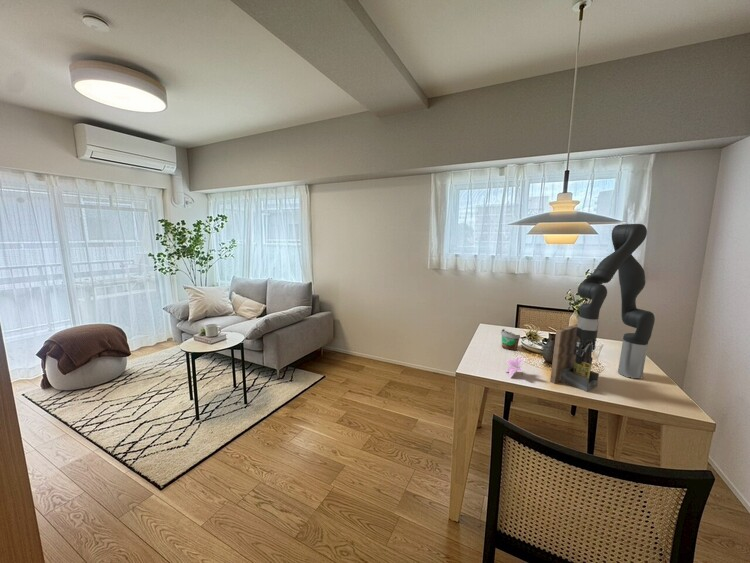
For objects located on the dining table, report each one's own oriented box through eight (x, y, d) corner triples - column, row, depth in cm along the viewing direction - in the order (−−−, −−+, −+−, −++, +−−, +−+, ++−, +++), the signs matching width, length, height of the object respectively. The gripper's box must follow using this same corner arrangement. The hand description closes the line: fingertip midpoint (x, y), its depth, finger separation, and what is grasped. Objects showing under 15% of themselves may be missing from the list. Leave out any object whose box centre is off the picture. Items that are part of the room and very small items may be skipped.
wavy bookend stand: (572, 372, 150) (578, 324, 145) (602, 383, 139) (609, 331, 135) (550, 381, 139) (556, 330, 135) (580, 394, 128) (588, 339, 124)
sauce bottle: (569, 383, 138) (575, 342, 134) (573, 379, 142) (578, 339, 139) (586, 389, 133) (593, 346, 130) (589, 384, 138) (596, 343, 134)
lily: (507, 368, 154) (500, 354, 152) (531, 365, 148) (525, 350, 146) (507, 385, 145) (500, 370, 142) (533, 382, 139) (526, 366, 136)
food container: (494, 345, 184) (496, 329, 182) (502, 344, 186) (503, 328, 184) (511, 352, 173) (513, 336, 171) (519, 351, 175) (520, 335, 173)
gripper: (585, 322, 140) (581, 355, 143) (570, 327, 133) (566, 361, 135) (604, 326, 134) (599, 361, 136) (589, 332, 126) (584, 368, 129)
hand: (583, 361), depth 136 cm, fingers open, 8 cm apart
